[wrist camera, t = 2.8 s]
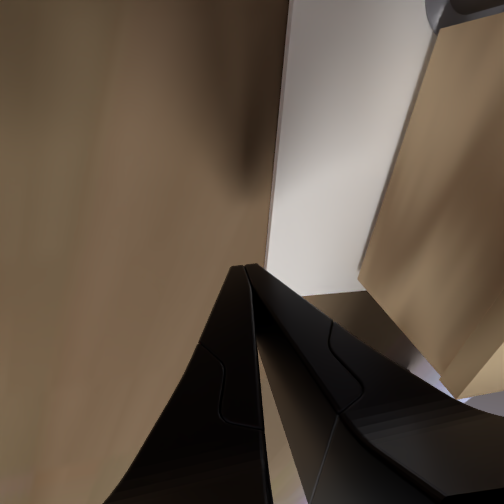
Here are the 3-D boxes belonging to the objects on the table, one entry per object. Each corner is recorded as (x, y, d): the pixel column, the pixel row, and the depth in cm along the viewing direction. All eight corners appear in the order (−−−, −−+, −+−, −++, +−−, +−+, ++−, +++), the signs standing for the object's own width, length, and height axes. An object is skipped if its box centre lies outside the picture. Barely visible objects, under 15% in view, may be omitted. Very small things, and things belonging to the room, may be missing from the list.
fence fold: (389, 276, 12) (508, 390, 7) (354, 279, 12) (455, 399, 7) (488, 34, 8) (945, -55, 3) (435, 28, 7) (858, -85, 3)
